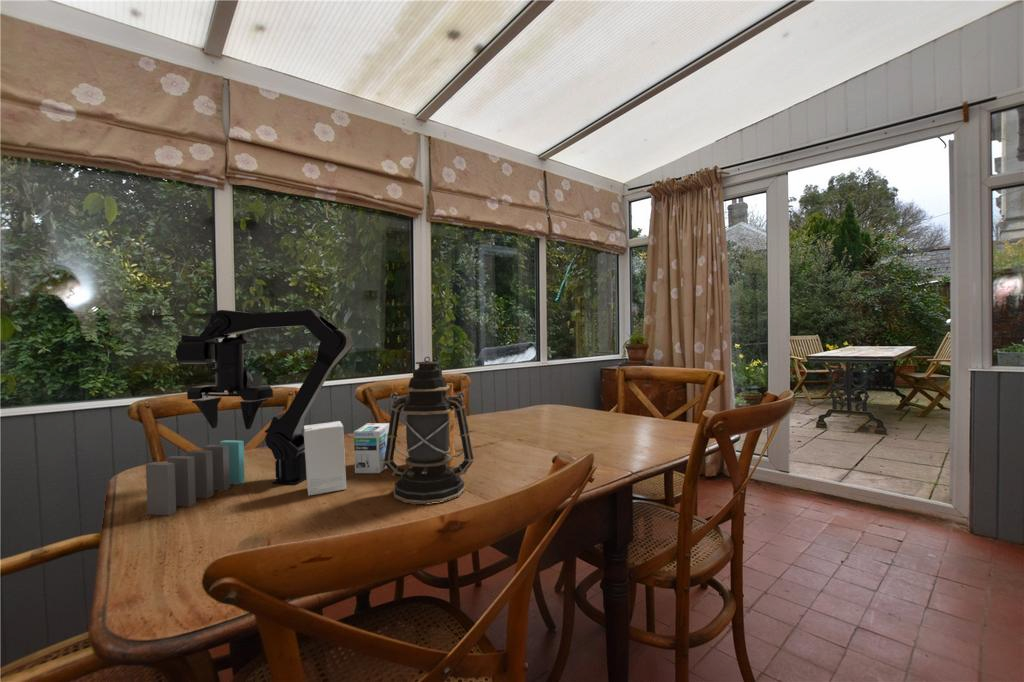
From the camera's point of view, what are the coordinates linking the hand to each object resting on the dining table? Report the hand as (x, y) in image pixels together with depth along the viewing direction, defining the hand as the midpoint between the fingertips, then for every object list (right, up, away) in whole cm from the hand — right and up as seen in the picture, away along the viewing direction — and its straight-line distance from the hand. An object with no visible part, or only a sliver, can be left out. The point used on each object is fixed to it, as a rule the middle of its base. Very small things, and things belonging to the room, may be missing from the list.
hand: (231, 428), depth 107 cm
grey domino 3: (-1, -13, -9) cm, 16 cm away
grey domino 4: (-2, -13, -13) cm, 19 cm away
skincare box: (+25, -13, -5) cm, 28 cm away
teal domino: (0, -13, 0) cm, 13 cm away
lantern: (+49, -13, -7) cm, 51 cm away
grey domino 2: (-1, -13, -4) cm, 14 cm away
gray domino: (-3, -14, -17) cm, 22 cm away
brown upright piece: (+46, -12, +11) cm, 49 cm away
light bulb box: (+31, -13, +11) cm, 35 cm away
